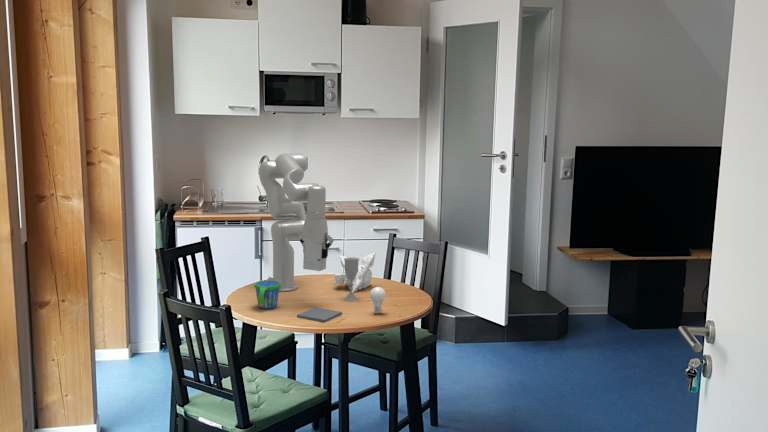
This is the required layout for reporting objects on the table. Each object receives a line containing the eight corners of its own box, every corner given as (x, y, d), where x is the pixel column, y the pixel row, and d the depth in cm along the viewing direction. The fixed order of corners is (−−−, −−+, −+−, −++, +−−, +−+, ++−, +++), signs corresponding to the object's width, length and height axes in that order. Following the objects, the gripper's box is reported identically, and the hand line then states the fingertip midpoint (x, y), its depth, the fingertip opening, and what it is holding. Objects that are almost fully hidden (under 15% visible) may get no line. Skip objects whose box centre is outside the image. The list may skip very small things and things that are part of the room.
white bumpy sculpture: (377, 263, 323) (375, 248, 305) (377, 302, 315) (374, 289, 297) (339, 263, 324) (334, 248, 306) (338, 303, 316) (332, 290, 298)
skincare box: (302, 269, 276) (303, 234, 274) (309, 266, 282) (310, 231, 279) (320, 271, 273) (321, 236, 271) (327, 268, 278) (328, 233, 276)
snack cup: (271, 313, 265) (271, 288, 264) (247, 311, 268) (247, 286, 267) (286, 303, 280) (286, 280, 279) (263, 301, 283) (263, 278, 282)
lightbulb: (373, 316, 265) (373, 289, 263) (367, 312, 270) (367, 285, 269) (387, 314, 267) (388, 288, 266) (381, 310, 273) (382, 284, 271)
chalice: (356, 302, 285) (357, 261, 283) (341, 301, 286) (341, 260, 284) (360, 298, 292) (361, 257, 290) (345, 296, 294) (346, 256, 291)
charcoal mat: (296, 317, 261) (296, 314, 261) (315, 309, 272) (315, 307, 272) (324, 322, 255) (324, 319, 255) (342, 314, 267) (342, 311, 266)
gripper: (293, 214, 274) (292, 255, 277) (329, 218, 267) (328, 261, 269) (303, 212, 281) (303, 252, 284) (338, 216, 273) (337, 257, 276)
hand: (315, 256), depth 276 cm, fingers closed on skincare box, 8 cm apart
